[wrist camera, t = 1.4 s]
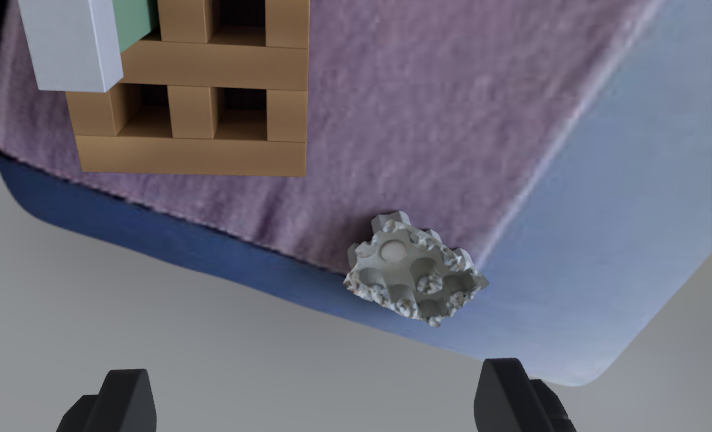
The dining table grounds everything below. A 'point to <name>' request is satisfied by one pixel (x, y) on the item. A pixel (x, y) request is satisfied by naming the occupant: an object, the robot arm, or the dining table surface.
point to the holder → (203, 97)
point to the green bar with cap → (83, 40)
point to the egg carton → (411, 271)
